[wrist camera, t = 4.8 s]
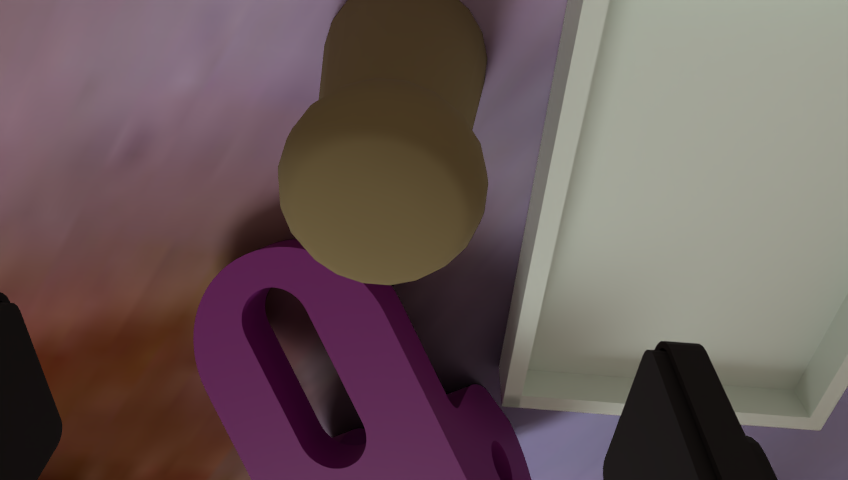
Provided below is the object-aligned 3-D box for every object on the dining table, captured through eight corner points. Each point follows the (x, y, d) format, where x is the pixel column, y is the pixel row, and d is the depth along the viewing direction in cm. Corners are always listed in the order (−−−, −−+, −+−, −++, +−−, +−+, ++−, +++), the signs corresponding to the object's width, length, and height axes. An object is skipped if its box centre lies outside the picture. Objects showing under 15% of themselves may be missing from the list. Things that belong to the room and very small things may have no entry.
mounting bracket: (254, 258, 36) (393, 537, 38) (158, 297, 28) (338, 651, 29) (397, 187, 34) (543, 491, 35) (335, 209, 26) (528, 603, 27)
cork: (313, 120, 25) (235, 296, 16) (337, -42, 22) (256, 64, 13) (463, 153, 26) (470, 342, 17) (508, 1, 23) (546, 132, 13)
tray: (796, 390, 32) (820, 430, 30) (498, 367, 32) (501, 406, 30) (1033, -34, 21) (1095, -17, 19) (580, -72, 21) (595, -59, 19)
